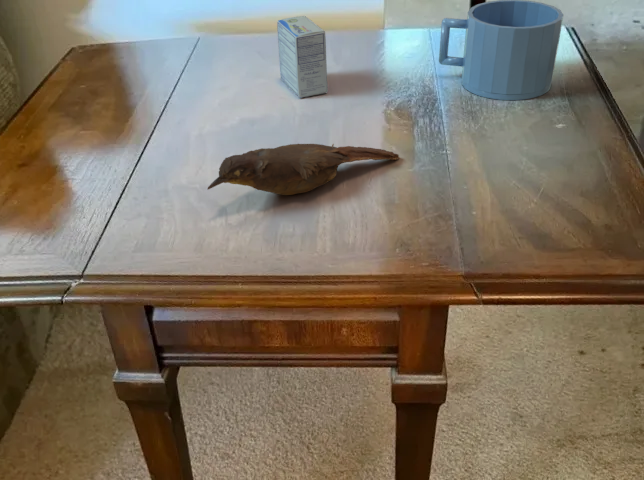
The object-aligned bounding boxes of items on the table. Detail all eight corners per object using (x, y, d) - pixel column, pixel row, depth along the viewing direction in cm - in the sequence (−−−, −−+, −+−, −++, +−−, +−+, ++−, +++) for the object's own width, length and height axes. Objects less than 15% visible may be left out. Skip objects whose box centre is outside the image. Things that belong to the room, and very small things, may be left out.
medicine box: (328, 93, 107) (326, 30, 101) (298, 99, 105) (295, 35, 100) (308, 75, 112) (306, 14, 107) (279, 80, 111) (276, 19, 106)
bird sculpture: (408, 184, 90) (415, 143, 87) (220, 219, 78) (221, 172, 75) (375, 165, 95) (380, 126, 92) (191, 195, 82) (191, 150, 80)
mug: (556, 71, 110) (568, 3, 104) (544, 104, 101) (556, 31, 95) (447, 61, 114) (452, -5, 109) (427, 92, 106) (431, 21, 100)
